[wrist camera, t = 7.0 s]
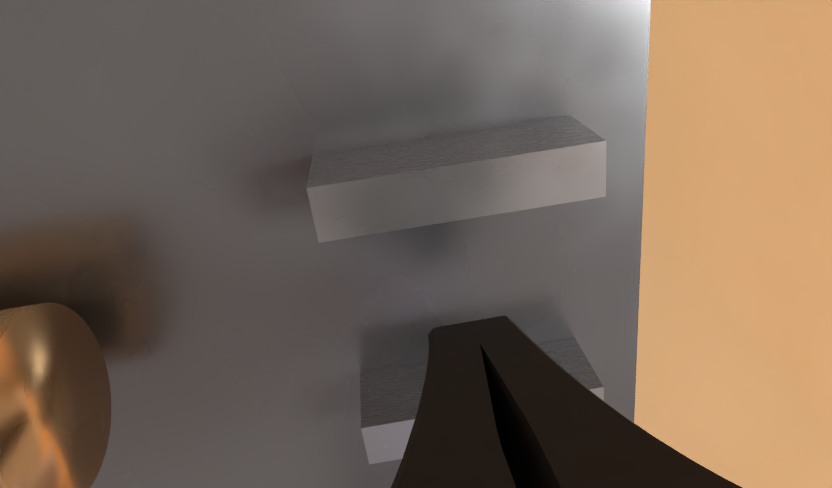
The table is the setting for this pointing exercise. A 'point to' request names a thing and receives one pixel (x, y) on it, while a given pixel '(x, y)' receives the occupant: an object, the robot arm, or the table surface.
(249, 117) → the firebox plate
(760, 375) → the table surface
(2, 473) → the copper tube
